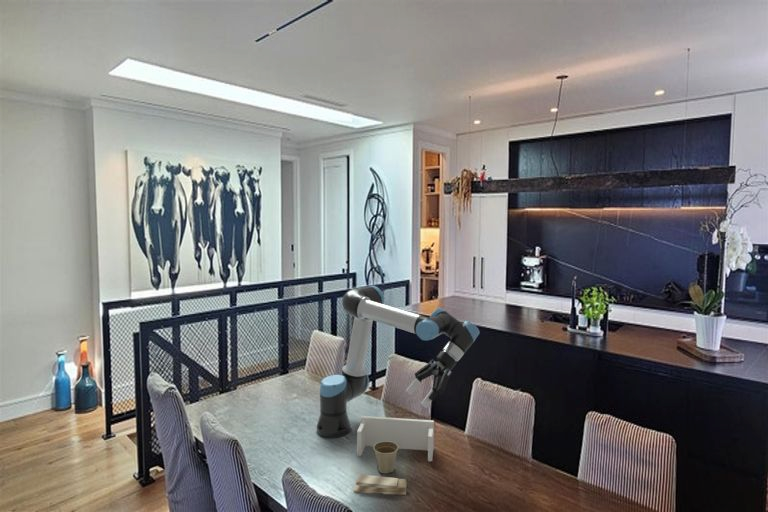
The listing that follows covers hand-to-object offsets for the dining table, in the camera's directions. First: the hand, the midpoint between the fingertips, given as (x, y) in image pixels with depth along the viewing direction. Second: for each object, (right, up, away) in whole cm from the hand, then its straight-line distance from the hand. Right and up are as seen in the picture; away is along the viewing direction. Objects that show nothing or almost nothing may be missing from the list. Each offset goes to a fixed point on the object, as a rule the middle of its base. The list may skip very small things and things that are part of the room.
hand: (415, 399), depth 171 cm
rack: (-7, -24, +10) cm, 27 cm away
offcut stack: (-13, -27, -15) cm, 33 cm away
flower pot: (-11, -25, -3) cm, 28 cm away
